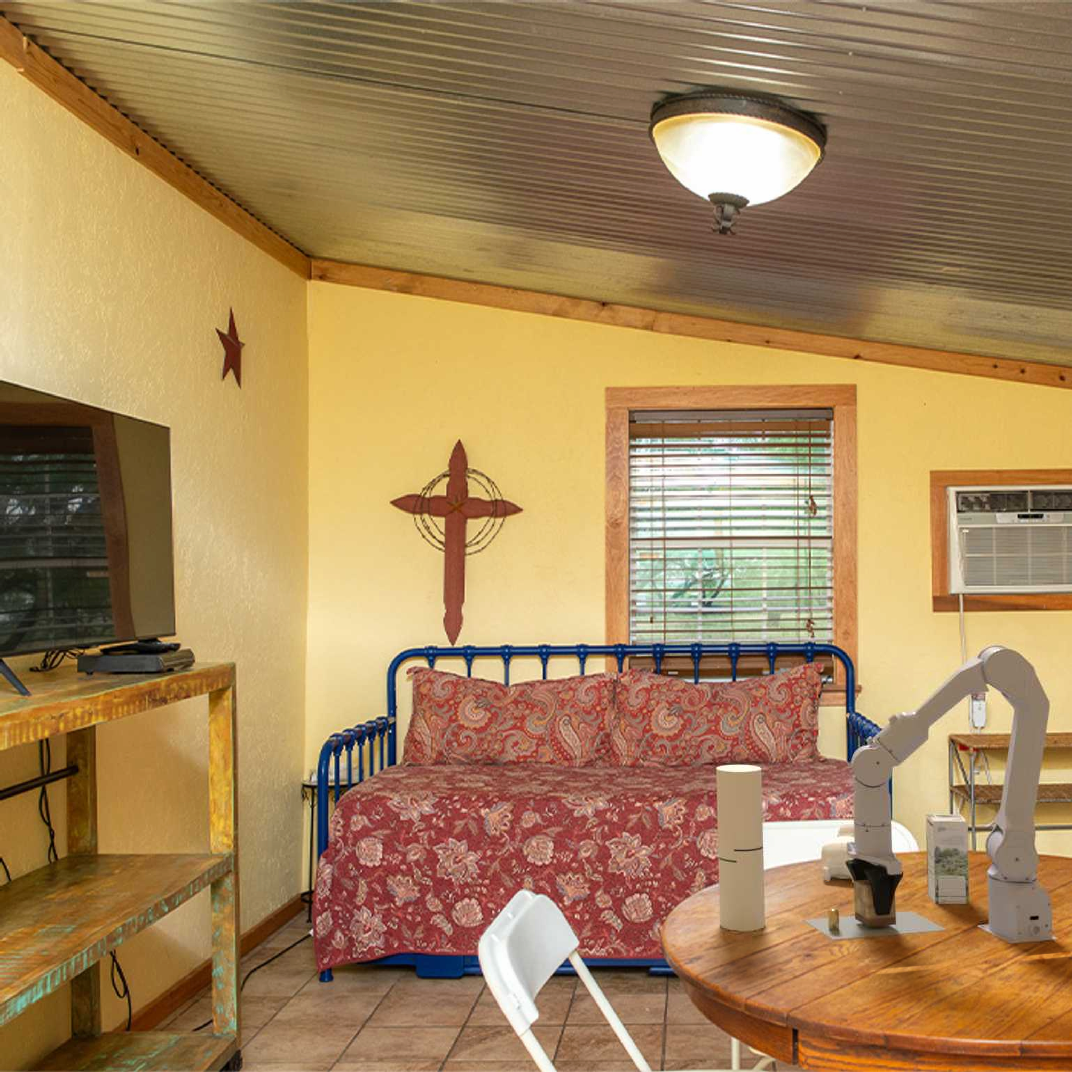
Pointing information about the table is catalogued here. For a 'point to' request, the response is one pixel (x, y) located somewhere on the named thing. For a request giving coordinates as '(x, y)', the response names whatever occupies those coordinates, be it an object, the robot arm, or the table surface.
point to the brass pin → (833, 919)
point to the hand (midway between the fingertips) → (874, 910)
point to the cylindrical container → (740, 847)
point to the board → (856, 929)
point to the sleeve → (870, 907)
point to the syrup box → (947, 859)
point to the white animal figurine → (838, 853)
